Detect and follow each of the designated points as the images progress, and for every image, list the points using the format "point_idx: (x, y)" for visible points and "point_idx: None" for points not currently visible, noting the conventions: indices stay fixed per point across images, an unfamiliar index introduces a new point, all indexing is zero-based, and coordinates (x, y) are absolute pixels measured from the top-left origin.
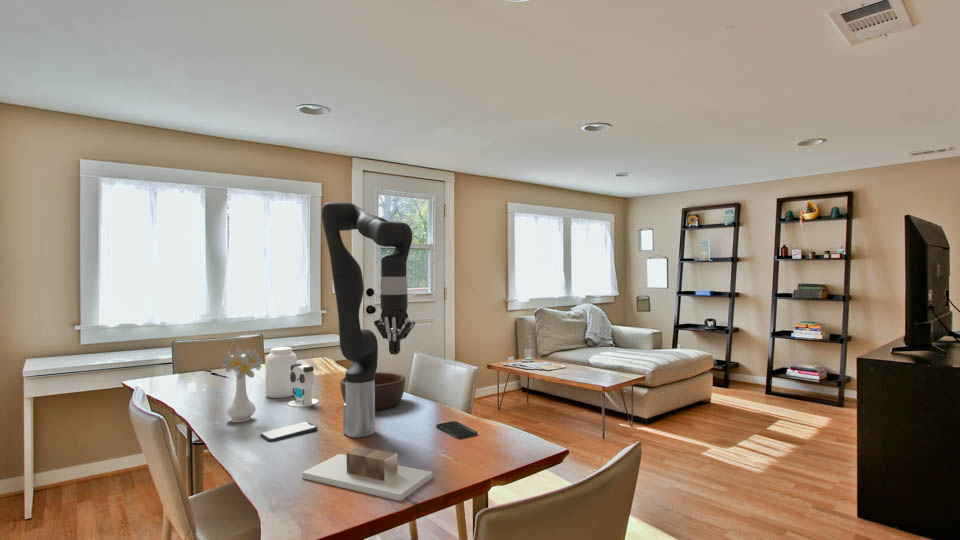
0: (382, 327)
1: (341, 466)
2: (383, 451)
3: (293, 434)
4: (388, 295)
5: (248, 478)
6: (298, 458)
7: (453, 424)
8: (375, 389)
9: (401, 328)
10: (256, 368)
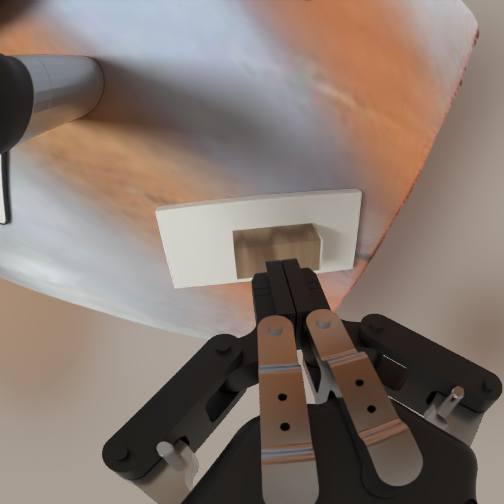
0: (198, 435)
1: (207, 247)
2: (293, 244)
3: (4, 187)
4: None
5: (120, 311)
6: (99, 241)
7: None
8: None
9: (371, 382)
10: None
